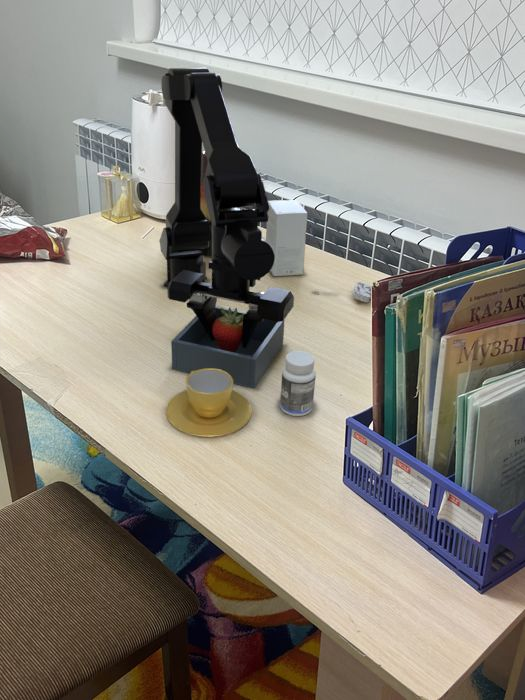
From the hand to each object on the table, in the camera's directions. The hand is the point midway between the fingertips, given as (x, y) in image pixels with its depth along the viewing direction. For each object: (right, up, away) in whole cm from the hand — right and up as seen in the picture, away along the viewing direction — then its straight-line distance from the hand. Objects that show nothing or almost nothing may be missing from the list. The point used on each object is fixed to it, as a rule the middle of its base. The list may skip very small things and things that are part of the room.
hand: (229, 343), depth 109 cm
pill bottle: (+10, -9, -10) cm, 17 cm away
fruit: (0, -2, +1) cm, 2 cm away
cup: (-2, -10, -12) cm, 16 cm away
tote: (0, -2, +1) cm, 3 cm away
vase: (-5, +21, +40) cm, 46 cm away
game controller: (+21, +9, +22) cm, 32 cm away
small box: (+10, +16, +32) cm, 37 cm away
